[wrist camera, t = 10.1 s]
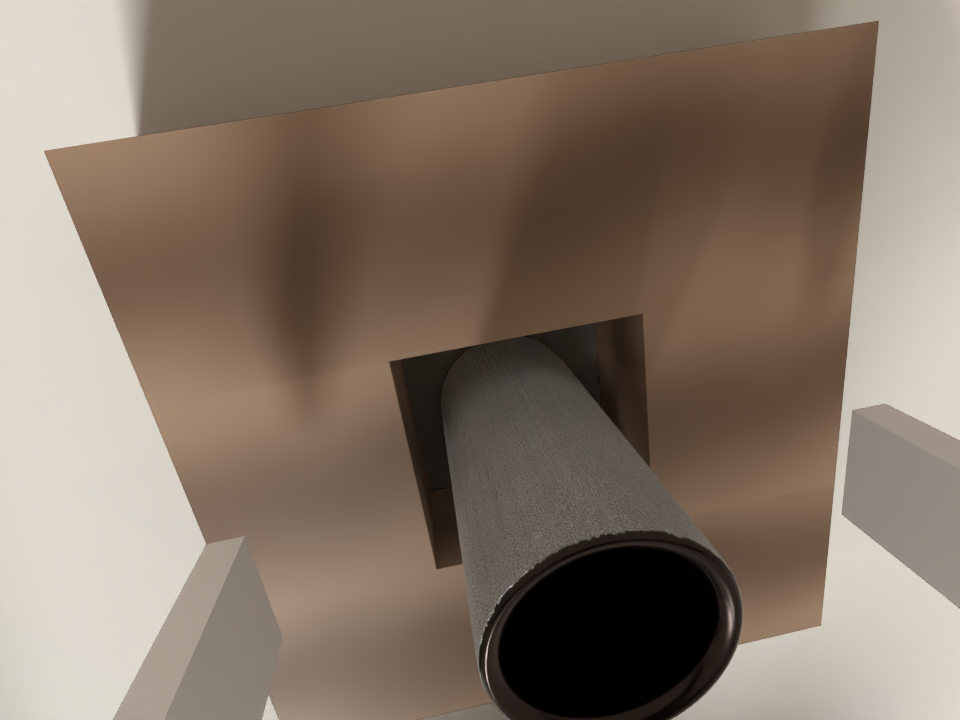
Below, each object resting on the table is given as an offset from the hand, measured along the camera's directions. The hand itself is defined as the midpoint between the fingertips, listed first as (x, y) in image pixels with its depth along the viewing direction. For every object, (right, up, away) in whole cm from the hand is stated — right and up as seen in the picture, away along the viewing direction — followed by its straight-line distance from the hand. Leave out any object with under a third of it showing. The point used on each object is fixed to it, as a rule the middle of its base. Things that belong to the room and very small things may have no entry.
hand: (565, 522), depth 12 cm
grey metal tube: (-1, +2, +7) cm, 7 cm away
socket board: (-1, +2, +7) cm, 7 cm away
